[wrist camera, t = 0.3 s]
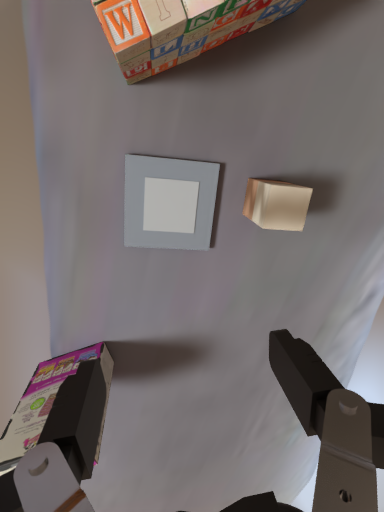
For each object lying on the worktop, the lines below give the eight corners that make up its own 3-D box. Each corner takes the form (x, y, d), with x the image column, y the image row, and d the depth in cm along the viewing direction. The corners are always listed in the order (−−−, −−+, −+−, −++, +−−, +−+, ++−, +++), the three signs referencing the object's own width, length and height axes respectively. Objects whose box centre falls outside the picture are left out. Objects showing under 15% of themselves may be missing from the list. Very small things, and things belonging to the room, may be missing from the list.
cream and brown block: (248, 178, 38) (271, 184, 30) (282, 181, 38) (312, 188, 31) (242, 213, 39) (262, 228, 32) (274, 216, 40) (302, 231, 33)
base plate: (126, 154, 34) (125, 154, 33) (218, 163, 36) (220, 163, 35) (124, 244, 39) (124, 246, 37) (207, 248, 40) (209, 250, 39)
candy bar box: (53, 383, 46) (3, 499, 30) (38, 361, 44) (-23, 473, 29) (117, 362, 46) (98, 467, 31) (105, 339, 44) (79, 439, 29)
